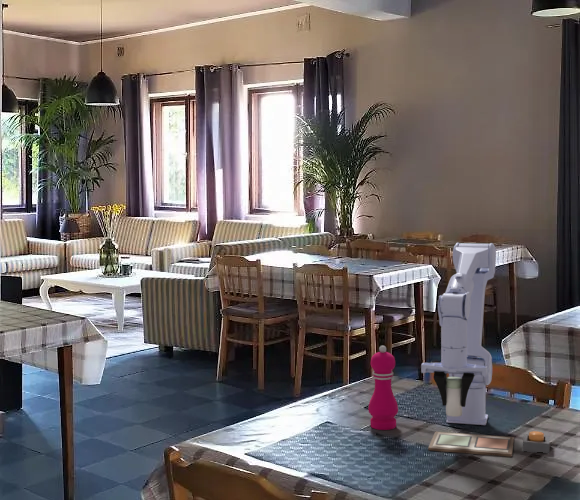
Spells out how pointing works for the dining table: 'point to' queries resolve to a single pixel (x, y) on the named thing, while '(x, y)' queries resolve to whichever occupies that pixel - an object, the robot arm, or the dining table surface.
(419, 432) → the dining table surface
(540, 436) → the button
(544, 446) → the button housing
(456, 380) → the white and green cylinder
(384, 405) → the pepper mill
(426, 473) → the dining table surface
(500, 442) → the picture board
